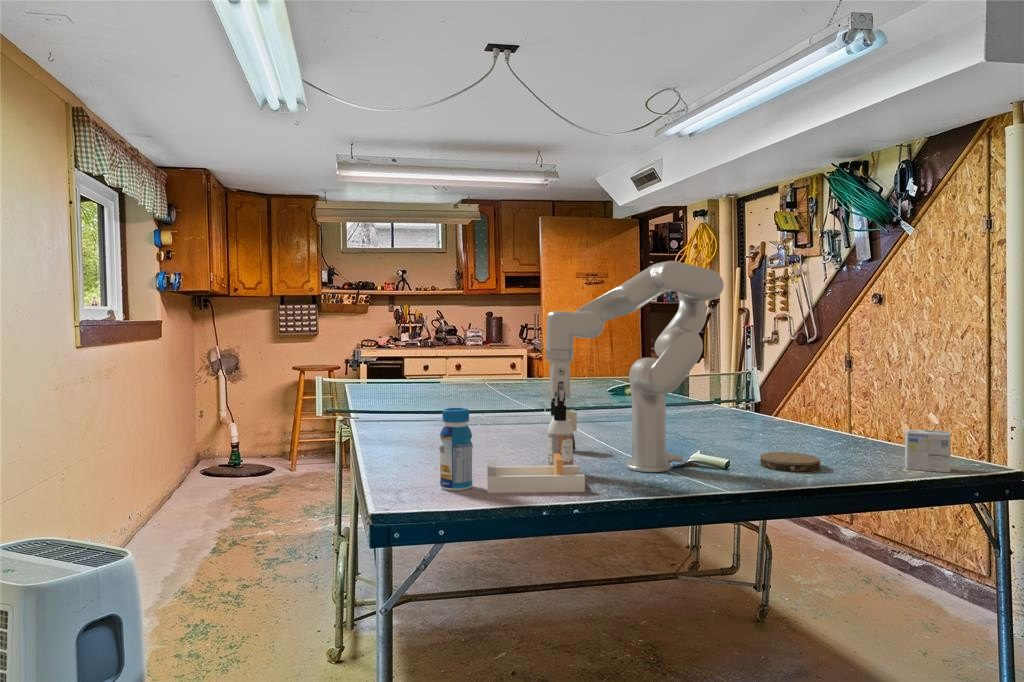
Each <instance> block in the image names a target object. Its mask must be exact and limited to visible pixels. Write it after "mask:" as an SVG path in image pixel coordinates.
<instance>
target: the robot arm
mask: <svg viewBox="0 0 1024 682" xmlns="http://www.w3.org/2000/svg"><path fill="white" fill-rule="evenodd" d="M724 285H725V284H724V280H723V278H722V276H721V275H720V274H719V273H718V272H717V271H715V270H713V269H710V268H706V267H705V268H704V267H702V266H697V265H694V264H688V263H685V262H681V261H678V260H677V261H676V260H667V261H661V262H657V263H654V264H652V265H650V266H648V267H647V268H645V269H644V270H641V271H640V272H639V273H637V274H636V275H634V276H633V277H631V278H630V279H628V280H626V281H624V282H623V283H621V284H620V285H618V286H617V287H615V288H612V289H611V290H609V291H607V292H606V293H604V294H602V295H601V296H600V295H599V296H598V297H596V298H594V299H593V300H591V301H589V302H587V303H586V304H584V305H583V306H580V307H579V308H578V309H576V310H575V311H573V312H571V311H564V310H562V311H561V310H559V311H549V312H548V313H547V315H546V328H545V329H546V335H545V343H546V344H545V362H549V394H550V396H551V401H550V415H551V416H553V417H554V420H555V421H566V410H567V401H566V400H567V399H570V398H571V367H570V363H572V362H573V363H574V341H575V340H574V338H578V339H594V338H596V337H599V336H600V335H601V334H602V333H603V331H604V328H605V323H607V322H609V321H610V320H613V319H616V318H620V317H624V316H626V315H629V314H632V313H635V312H636V311H638V310H640V308H643V307H644V306H645V305H647V304H649V303H650V302H651V301H653V300H655V299H656V298H658V297H659V296H661V295H663V294H665V293H667V292H668V293H670V292H674V293H677V294H676V295H677V298H678V310H677V312H676V313H675V315H674V316H673V317H672V319H671V320H670V322H669V323H668V325H666V327H665V328H664V329H663V330H662V332H661V333H660V334H659V336H658V337H657V338H656V340H655V342H654V352H655V354H656V355H657V357H658V358H656V357H655V358H654V357H642V358H640V359H637V360H635V361H634V362H633V363H632V365H631V367H630V369H629V373H628V374H629V375H628V377H629V378H628V379H629V388H630V393H631V396H630V397H631V460H628V461H627V462H626V468H628V470H632V471H635V472H642V473H643V472H644V473H660V472H661V473H662V472H668V471H670V470H671V469H672V464H671V463H673V462H675V463H680V462H682V463H683V460H684V458H683V457H684V456H683V454H671V453H669V452H667V450H666V448H667V447H666V446H667V445H666V444H667V443H666V442H667V436H666V433H667V427H666V422H667V418H666V415H667V413H666V412H667V405H666V397H665V395H666V394H670V393H673V392H674V391H676V389H678V387H679V386H680V385H681V383H682V382H683V381H684V380H685V379H686V377H687V376H688V375H689V373H690V372H691V371H692V369H693V368H694V367H695V365H696V364H697V362H698V361H699V360H700V358H701V357H702V356H701V355H702V353H703V348H704V345H703V343H704V342H703V339H702V337H701V336H700V334H699V333H700V332H701V331H702V329H704V328H703V327H704V326H705V324H706V321H707V314H708V313H707V305H706V304H707V303H706V301H708V302H709V301H712V300H715V299H717V298H718V297H720V295H721V294H722V293H723V291H724ZM669 463H670V464H671V465H669Z"/></svg>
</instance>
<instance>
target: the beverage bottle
mask: <svg viewBox="0 0 1024 682" xmlns="http://www.w3.org/2000/svg"><path fill="white" fill-rule="evenodd" d="M469 421H470V410H469V408H466V407H448V408H447V407H446V408H443V409H442V423H444V425H443V427H442V429H441V431H440V433H439V439H440V443H439V447H438V448H439V455H440V456H439V459H440V461H439V464H440V465H439V467H440V468H439V470H440V471H439V472H440V477H439V478H440V480H439V485H440V488H441V489H442V490H445V491H451V492H452V491H453V492H454V491H455V492H457V491H466V490H469V489H471V488H472V487H473V447H474V446H473V442H472V438H473V433H472V431H471V429H470V427H469V425H468V423H469Z"/></svg>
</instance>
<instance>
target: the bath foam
mask: <svg viewBox="0 0 1024 682" xmlns="http://www.w3.org/2000/svg"><path fill="white" fill-rule="evenodd" d="M573 435H574V432H573V429H572V425H571V423H570V421H569V419H568V418H567V416H566V421H555V420H554V416H553V417H552V418H551V421H550V422H549V425H548V429H547V466H554V463H553V453H560V455H561V457H562V459H563V466H568V465H574V450H573Z"/></svg>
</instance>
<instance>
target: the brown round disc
mask: <svg viewBox="0 0 1024 682" xmlns="http://www.w3.org/2000/svg"><path fill="white" fill-rule="evenodd" d="M760 466H761V468H764V469H768V470H771V471H777V472H782V473H783V472H784V473H792V474H798V473H799V474H803V473H804V474H807V473H816V472H818V471H820V470H821V459H820V458H819V457H818V456H815V455H812V454H807V453H799V452H792V451H791V452H788V451H772V452H769V451H768V452H764V453H761V454H760Z"/></svg>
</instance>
